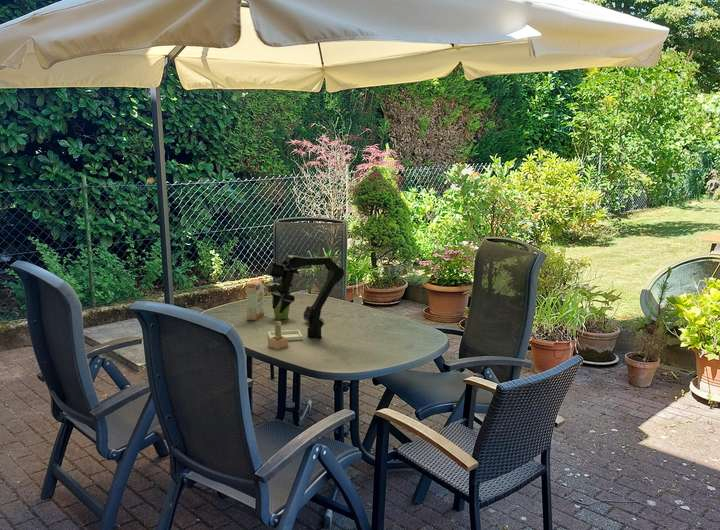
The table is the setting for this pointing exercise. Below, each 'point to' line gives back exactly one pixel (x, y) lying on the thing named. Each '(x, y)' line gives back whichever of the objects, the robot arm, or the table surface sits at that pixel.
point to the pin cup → (278, 342)
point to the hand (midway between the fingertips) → (276, 310)
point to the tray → (288, 334)
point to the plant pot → (280, 315)
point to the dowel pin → (277, 330)
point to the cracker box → (255, 299)
